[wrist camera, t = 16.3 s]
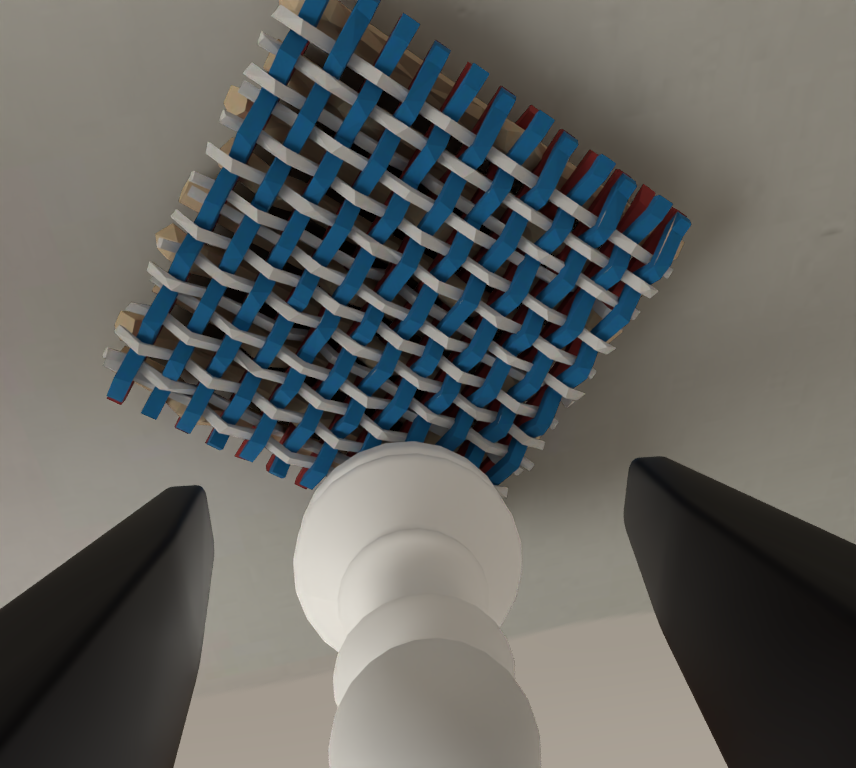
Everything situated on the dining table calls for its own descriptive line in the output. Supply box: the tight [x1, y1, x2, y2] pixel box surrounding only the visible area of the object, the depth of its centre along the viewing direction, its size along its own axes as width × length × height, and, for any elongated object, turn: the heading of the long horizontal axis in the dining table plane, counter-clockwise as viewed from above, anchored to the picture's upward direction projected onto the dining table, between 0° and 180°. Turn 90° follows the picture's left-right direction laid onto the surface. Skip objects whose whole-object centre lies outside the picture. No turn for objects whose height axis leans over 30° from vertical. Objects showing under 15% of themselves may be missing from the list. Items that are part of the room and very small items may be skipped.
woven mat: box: [102, 0, 691, 498], centre depth 17 cm, size 10×11×2 cm
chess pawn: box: [293, 441, 541, 768], centre depth 13 cm, size 5×5×9 cm
